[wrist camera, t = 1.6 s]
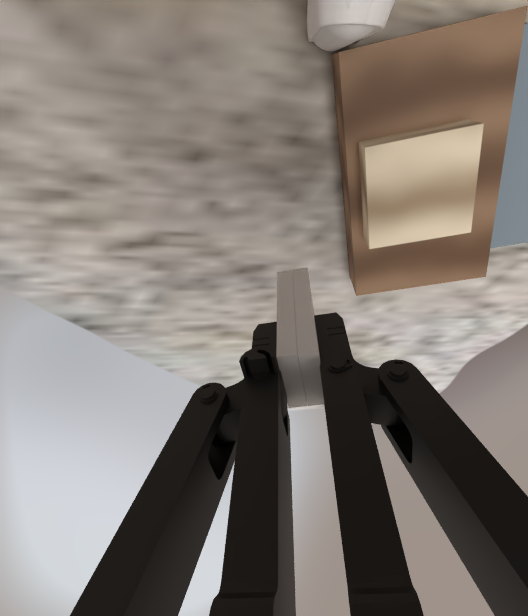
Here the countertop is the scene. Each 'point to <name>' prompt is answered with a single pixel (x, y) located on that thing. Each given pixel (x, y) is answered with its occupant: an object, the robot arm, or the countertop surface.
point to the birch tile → (420, 183)
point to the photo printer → (345, 21)
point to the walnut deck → (423, 114)
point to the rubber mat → (515, 165)
